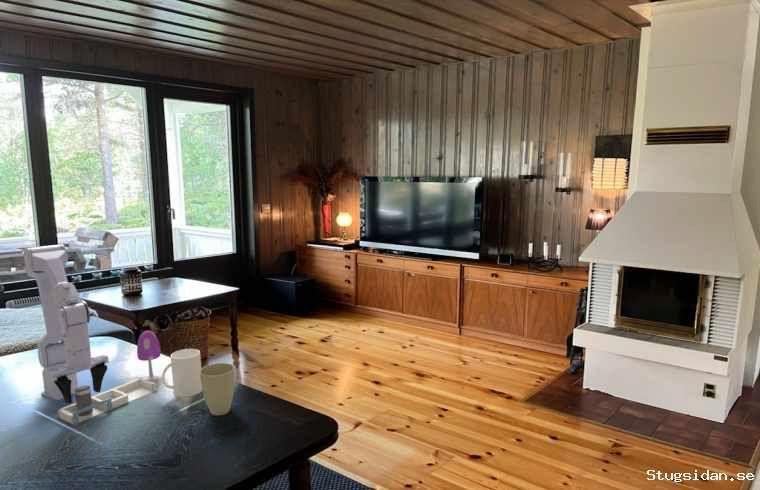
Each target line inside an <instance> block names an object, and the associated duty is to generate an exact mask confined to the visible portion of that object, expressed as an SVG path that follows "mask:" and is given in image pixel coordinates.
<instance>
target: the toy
mask: <svg viewBox="0 0 760 490" xmlns="http://www.w3.org/2000/svg"><path fill="white" fill-rule="evenodd" d="M136 355H137V359H138V360H139V361H145V362H148V376H153V375H154V372H153V364H152V361H153V360H156V359H158V358H159V357H160V356H161V346H160V341H159V339H158V337H157V335H155V333H154V332H153V331H151V330H145V331H143V332H141V334H140V335H139V338H138V340H137V346H136Z"/></svg>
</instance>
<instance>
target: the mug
mask: <svg viewBox="0 0 760 490" xmlns="http://www.w3.org/2000/svg"><path fill="white" fill-rule="evenodd" d="M201 359H202V358H201V351H200V350H199V349H196V348H184V349H180V350H176V351H174V352H172V353H171V354H170V362H169V363H168V364H167V365H166V366H165V367H164V369H163V372H162V375H161V380H162V383H163V385H164V386H165V387H166V388H168V389H170V390H172V391H173V395H174V396H175V397H178V398H179V397H180V398H187V397H192V396H196V395H198V394H200V393H201V392H202V393H203V391H202V385H201V379H200V370H201V369H202V360H201ZM169 368H171V373H172V374H171V376H172V385H169V384H167V382H166V381H165V374H166V372H167V370H168V369H169Z"/></svg>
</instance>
